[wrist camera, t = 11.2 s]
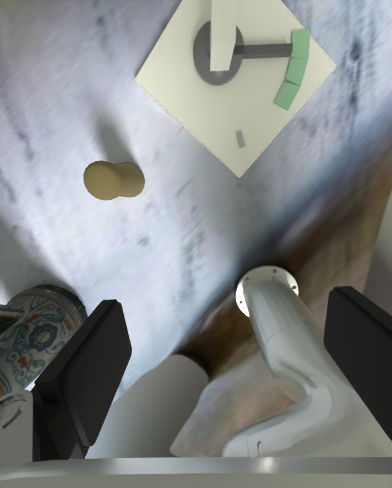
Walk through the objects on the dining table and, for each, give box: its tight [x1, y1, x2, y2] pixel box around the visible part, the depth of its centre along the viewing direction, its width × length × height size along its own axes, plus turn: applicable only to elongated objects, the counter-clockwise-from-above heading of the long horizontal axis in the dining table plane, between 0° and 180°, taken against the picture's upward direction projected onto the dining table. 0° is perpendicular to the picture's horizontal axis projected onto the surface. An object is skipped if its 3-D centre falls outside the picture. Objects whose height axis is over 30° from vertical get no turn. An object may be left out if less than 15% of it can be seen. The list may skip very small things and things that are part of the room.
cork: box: [84, 161, 145, 200], centre depth 32 cm, size 6×6×11 cm
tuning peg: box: [193, 0, 293, 86], centre depth 24 cm, size 14×7×10 cm, turn 91°
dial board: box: [134, 0, 337, 178], centre depth 30 cm, size 22×20×2 cm
